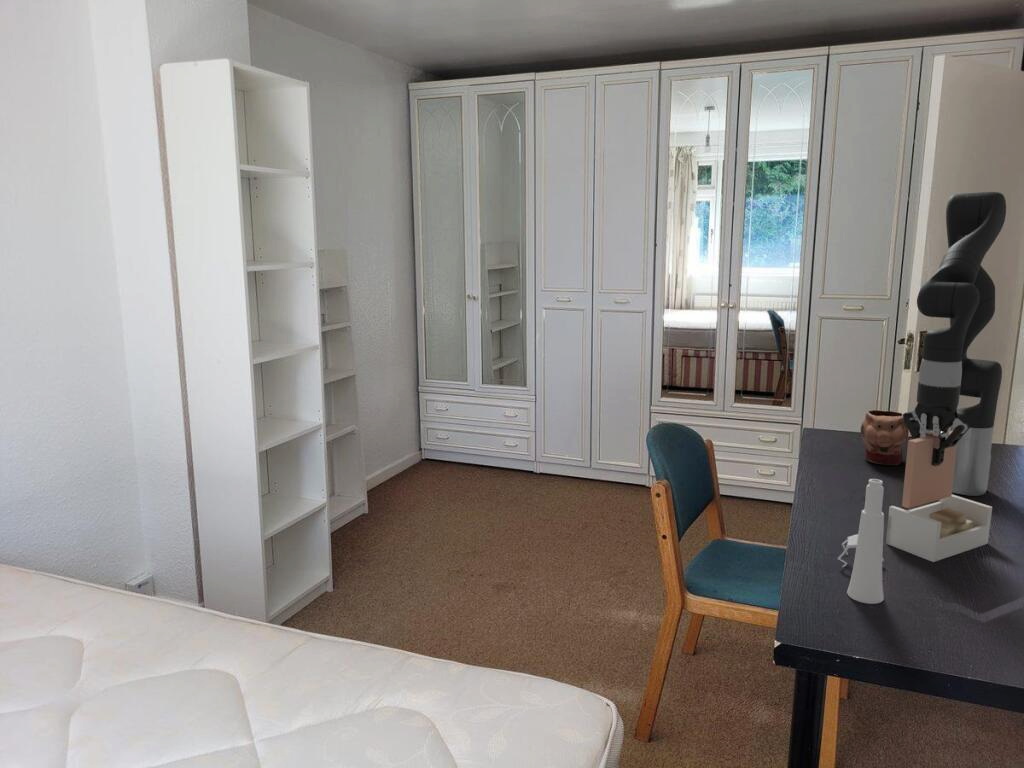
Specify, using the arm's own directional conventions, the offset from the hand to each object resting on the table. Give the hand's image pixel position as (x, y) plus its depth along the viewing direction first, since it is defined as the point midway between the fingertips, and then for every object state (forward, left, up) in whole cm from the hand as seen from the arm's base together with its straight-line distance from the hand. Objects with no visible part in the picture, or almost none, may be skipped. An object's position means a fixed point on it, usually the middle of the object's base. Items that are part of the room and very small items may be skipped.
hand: (930, 463), depth 158 cm
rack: (0, +3, -17) cm, 18 cm away
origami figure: (+19, 0, -18) cm, 26 cm away
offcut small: (0, +5, -11) cm, 12 cm away
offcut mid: (-1, +5, -14) cm, 15 cm away
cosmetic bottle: (+31, +10, -18) cm, 37 cm away
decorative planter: (-44, -42, -18) cm, 63 cm away
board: (0, 0, -8) cm, 8 cm away
